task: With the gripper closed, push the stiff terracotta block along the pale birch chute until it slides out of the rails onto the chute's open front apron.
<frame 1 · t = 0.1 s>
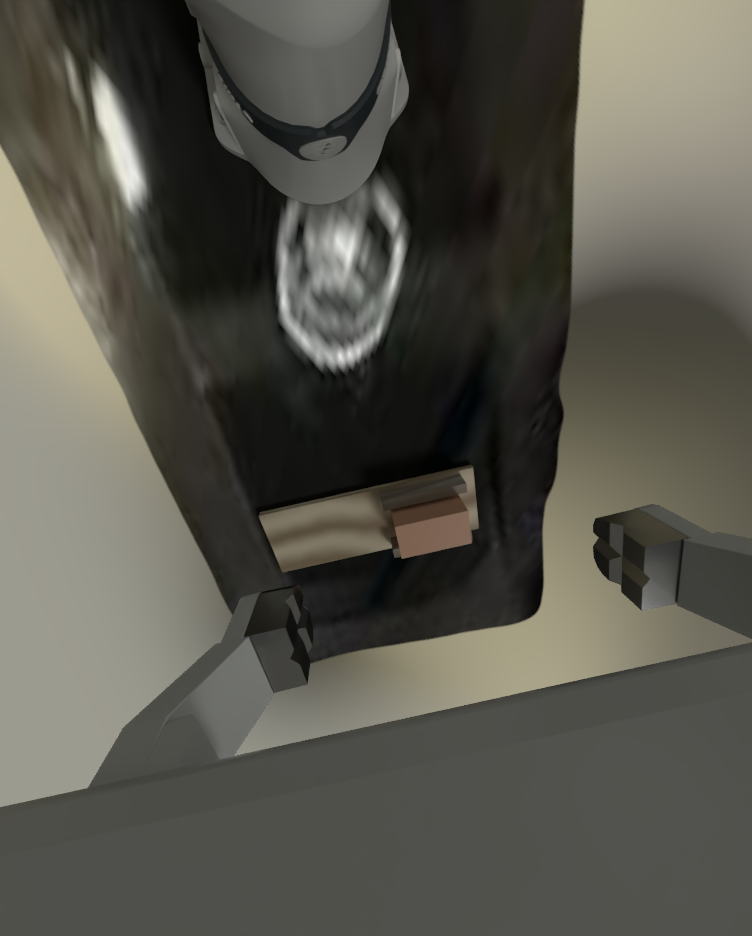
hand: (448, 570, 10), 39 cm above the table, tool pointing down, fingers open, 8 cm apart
birch chute: (397, 513, 55), on the table
terracotta block: (429, 522, 51), point 4 cm above the table, slide at 0.0 cm
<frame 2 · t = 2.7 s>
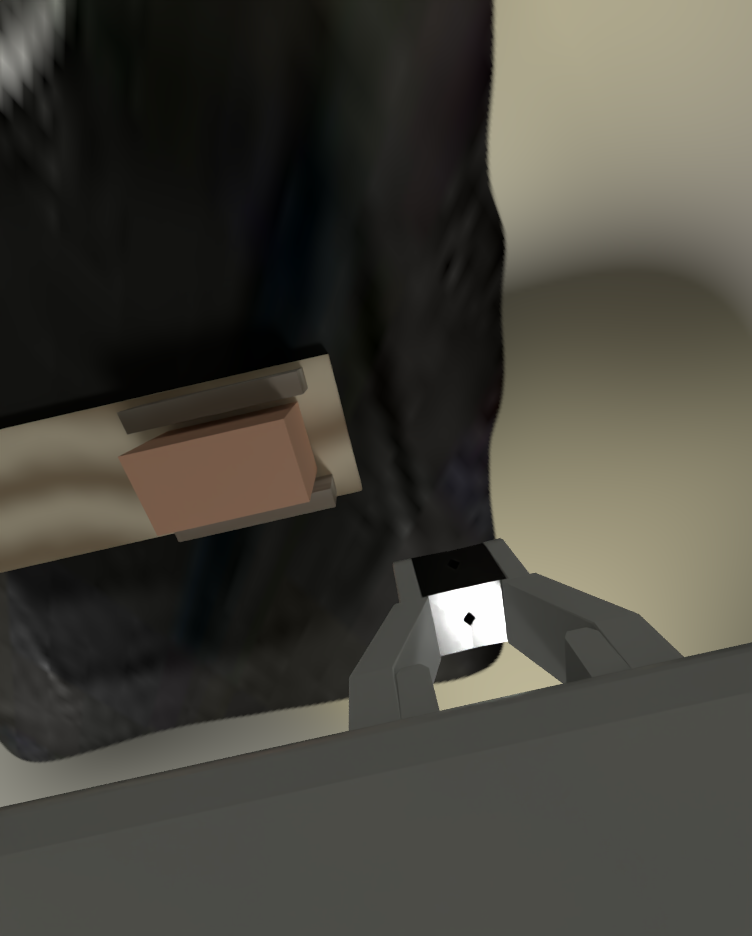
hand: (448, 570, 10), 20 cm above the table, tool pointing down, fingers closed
birch chute: (200, 457, 29), on the table
terracotta block: (232, 463, 25), point 4 cm above the table, slide at 0.0 cm
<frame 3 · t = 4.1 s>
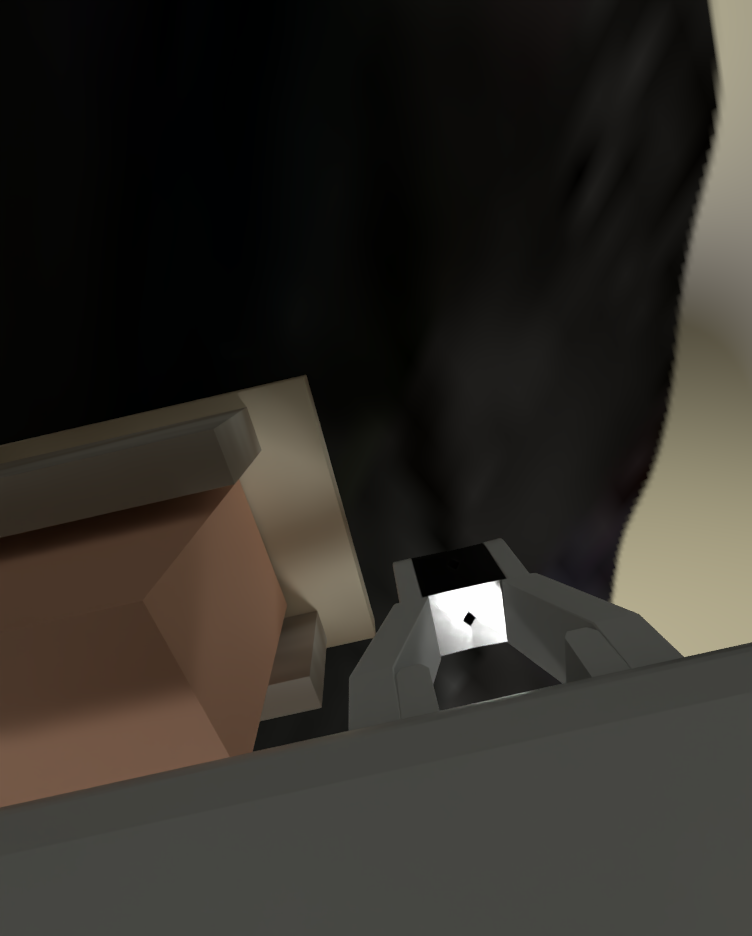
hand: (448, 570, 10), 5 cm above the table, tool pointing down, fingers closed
birch chute: (53, 579, 14), on the table
terracotta block: (73, 641, 10), point 4 cm above the table, slide at 0.0 cm
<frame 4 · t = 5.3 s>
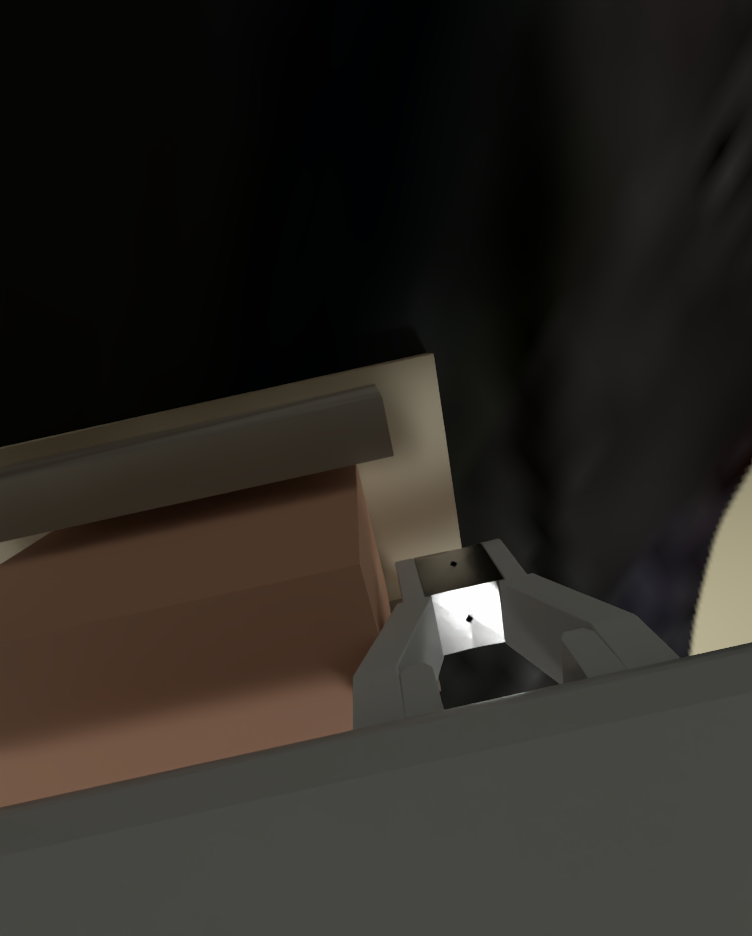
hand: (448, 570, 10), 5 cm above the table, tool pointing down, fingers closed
birch chute: (152, 561, 14), on the table
terracotta block: (206, 618, 10), point 4 cm above the table, slide at 0.1 cm, touching gripper
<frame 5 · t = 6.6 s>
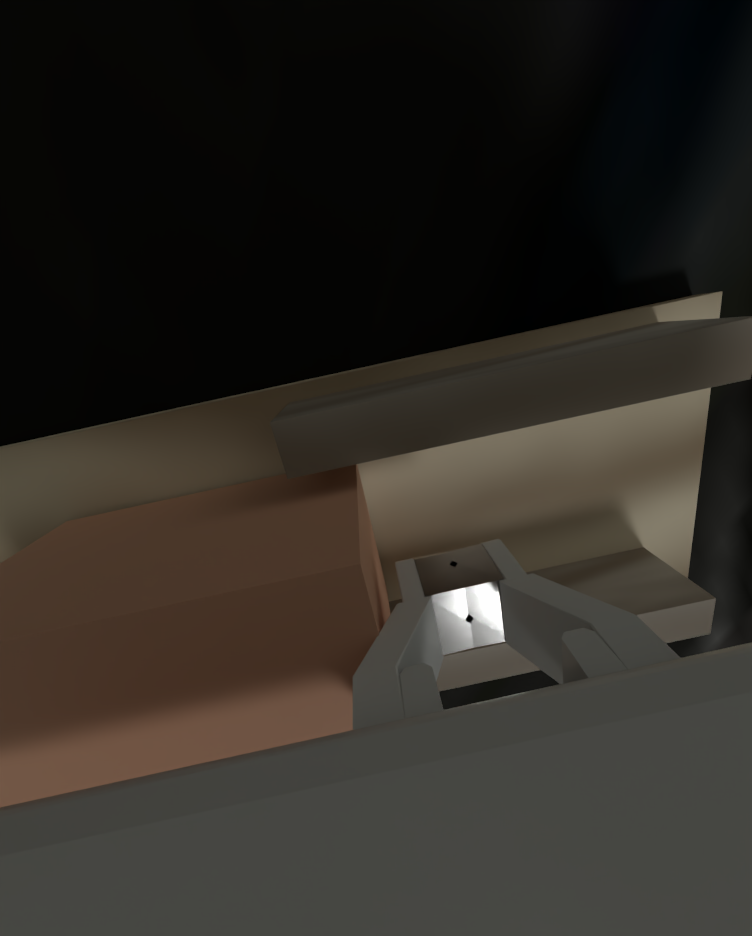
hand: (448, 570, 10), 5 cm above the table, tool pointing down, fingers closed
birch chute: (379, 511, 14), on the table
terracotta block: (206, 618, 10), point 4 cm above the table, slide at 9.4 cm, touching gripper
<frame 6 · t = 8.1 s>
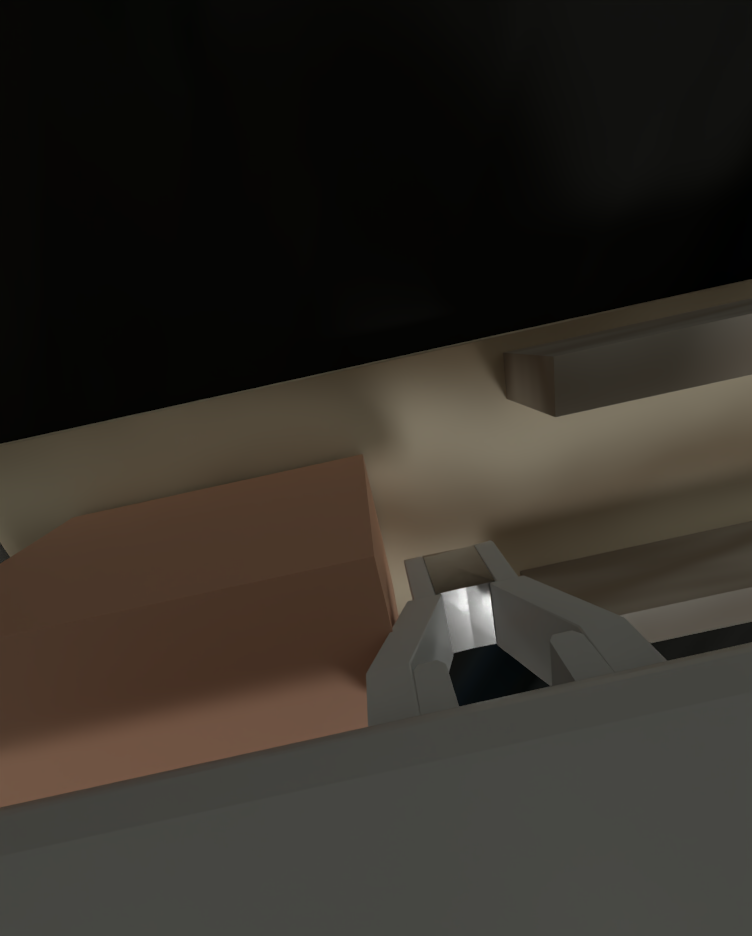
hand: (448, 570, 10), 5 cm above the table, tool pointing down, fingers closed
birch chute: (552, 471, 14), on the table
terracotta block: (214, 613, 10), point 4 cm above the table, slide at 16.1 cm, touching gripper
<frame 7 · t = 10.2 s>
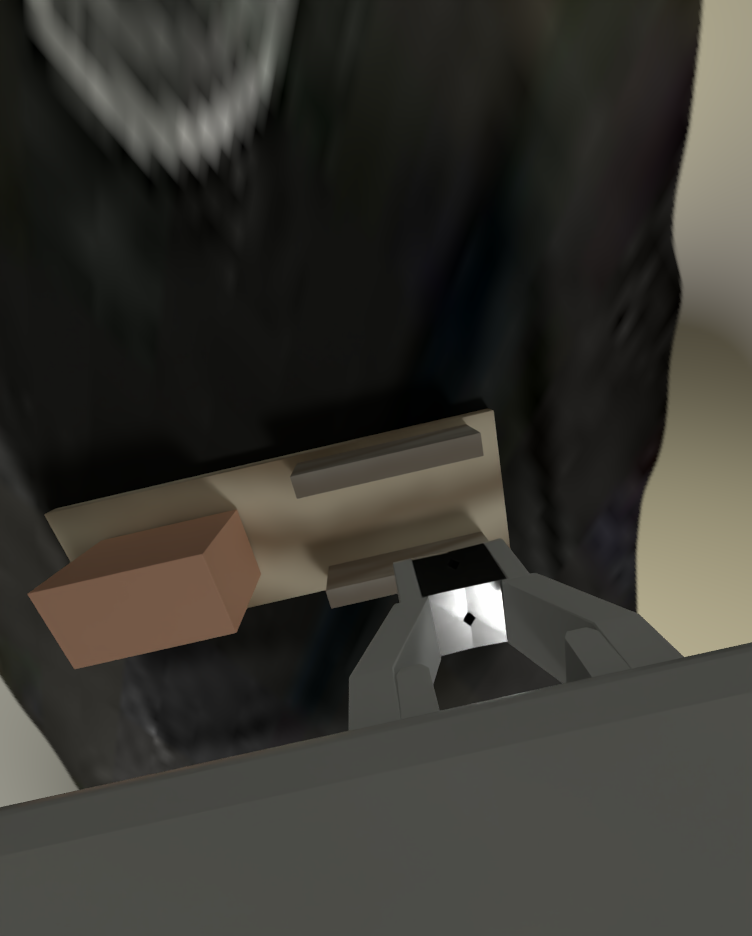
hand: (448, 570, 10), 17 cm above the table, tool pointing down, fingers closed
birch chute: (343, 514, 27), on the table
terracotta block: (162, 582, 23), point 4 cm above the table, slide at 16.0 cm
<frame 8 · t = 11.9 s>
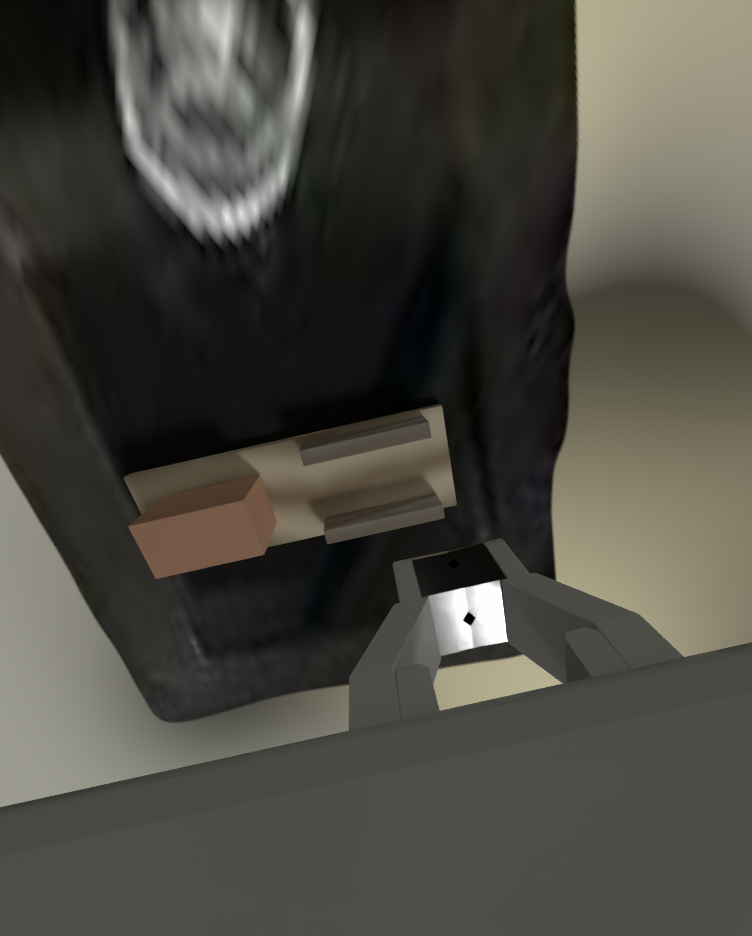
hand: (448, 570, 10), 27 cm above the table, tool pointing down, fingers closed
birch chute: (336, 479, 38), on the table
terracotta block: (210, 524, 34), point 4 cm above the table, slide at 16.0 cm
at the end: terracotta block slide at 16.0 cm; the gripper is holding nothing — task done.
